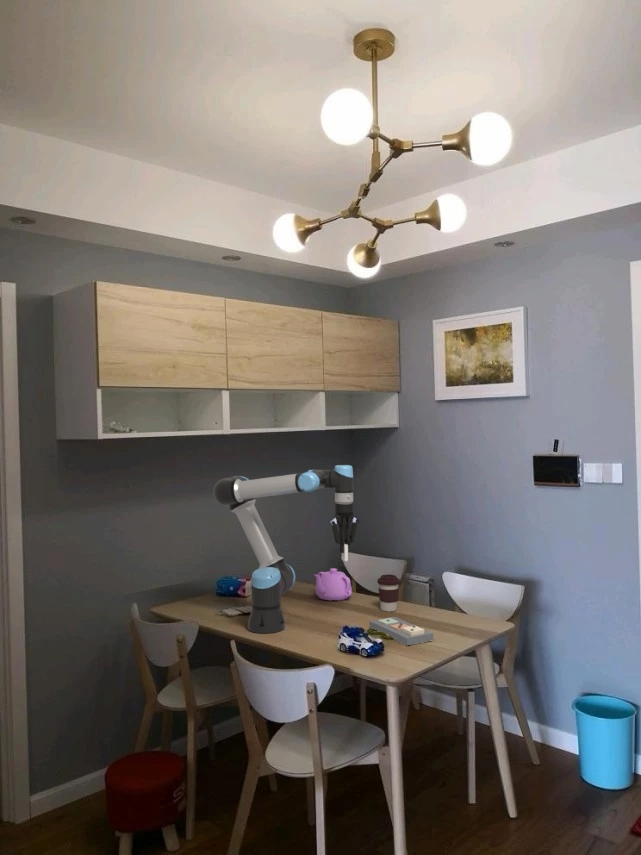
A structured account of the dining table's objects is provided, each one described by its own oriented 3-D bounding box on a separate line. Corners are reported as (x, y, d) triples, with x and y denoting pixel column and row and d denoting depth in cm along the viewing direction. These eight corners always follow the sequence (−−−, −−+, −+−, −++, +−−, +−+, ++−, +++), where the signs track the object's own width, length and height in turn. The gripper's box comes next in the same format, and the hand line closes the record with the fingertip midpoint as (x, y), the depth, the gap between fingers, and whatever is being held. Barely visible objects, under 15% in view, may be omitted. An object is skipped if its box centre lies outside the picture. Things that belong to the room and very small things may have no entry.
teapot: (297, 599, 322) (297, 569, 322) (329, 590, 338) (329, 562, 338) (331, 607, 307) (331, 576, 307) (363, 598, 323) (362, 569, 322)
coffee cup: (404, 611, 300) (404, 576, 300) (385, 614, 295) (384, 579, 295) (392, 605, 309) (392, 572, 308) (373, 608, 304) (373, 574, 304)
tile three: (398, 637, 262) (398, 628, 262) (389, 633, 267) (389, 624, 267) (411, 634, 265) (411, 626, 265) (402, 630, 270) (402, 622, 270)
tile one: (386, 631, 270) (386, 623, 270) (377, 627, 275) (377, 619, 275) (398, 629, 272) (398, 620, 272) (390, 625, 278) (390, 617, 278)
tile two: (411, 639, 255) (411, 631, 255) (402, 635, 260) (402, 627, 260) (424, 637, 257) (424, 628, 257) (414, 633, 263) (414, 624, 263)
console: (407, 646, 252) (406, 638, 252) (369, 628, 275) (369, 620, 275) (433, 641, 257) (433, 633, 257) (394, 623, 280) (394, 616, 280)
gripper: (334, 504, 273) (335, 563, 274) (362, 502, 280) (363, 560, 280) (325, 503, 280) (326, 560, 280) (353, 501, 286) (353, 557, 286)
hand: (344, 560), depth 280 cm, fingers closed
